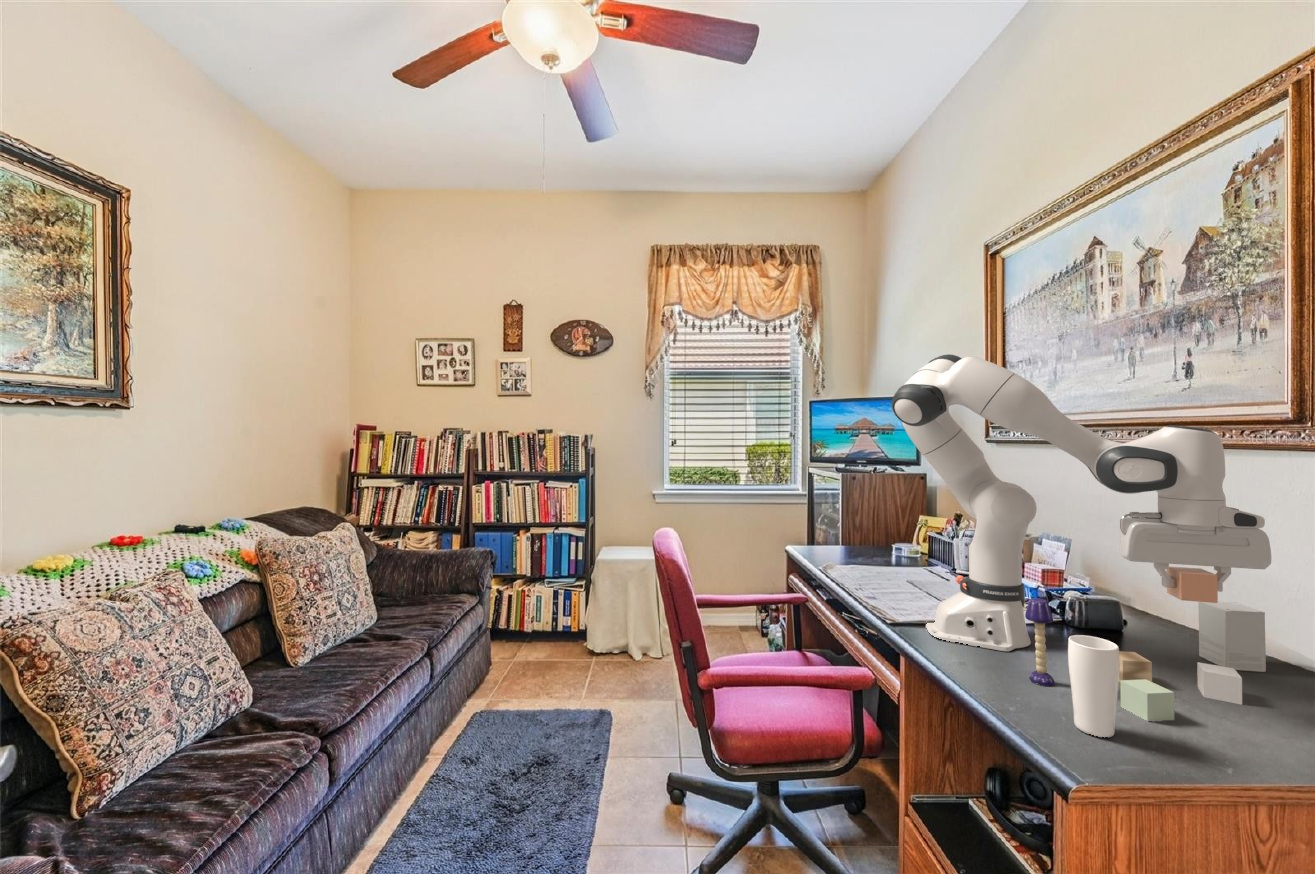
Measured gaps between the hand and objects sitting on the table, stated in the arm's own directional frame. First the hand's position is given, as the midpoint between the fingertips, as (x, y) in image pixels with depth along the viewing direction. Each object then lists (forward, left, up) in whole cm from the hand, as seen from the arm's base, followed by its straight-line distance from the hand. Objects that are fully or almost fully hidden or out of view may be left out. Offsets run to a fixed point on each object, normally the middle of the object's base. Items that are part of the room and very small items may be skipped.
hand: (1191, 589), depth 97 cm
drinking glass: (-20, -16, -22) cm, 34 cm away
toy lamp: (-23, +2, -22) cm, 32 cm away
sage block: (-9, -6, -22) cm, 24 cm away
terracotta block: (0, 0, -2) cm, 2 cm away
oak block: (-6, +9, -22) cm, 24 cm away
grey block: (+7, +7, -22) cm, 24 cm away
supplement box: (+18, +26, -22) cm, 38 cm away
